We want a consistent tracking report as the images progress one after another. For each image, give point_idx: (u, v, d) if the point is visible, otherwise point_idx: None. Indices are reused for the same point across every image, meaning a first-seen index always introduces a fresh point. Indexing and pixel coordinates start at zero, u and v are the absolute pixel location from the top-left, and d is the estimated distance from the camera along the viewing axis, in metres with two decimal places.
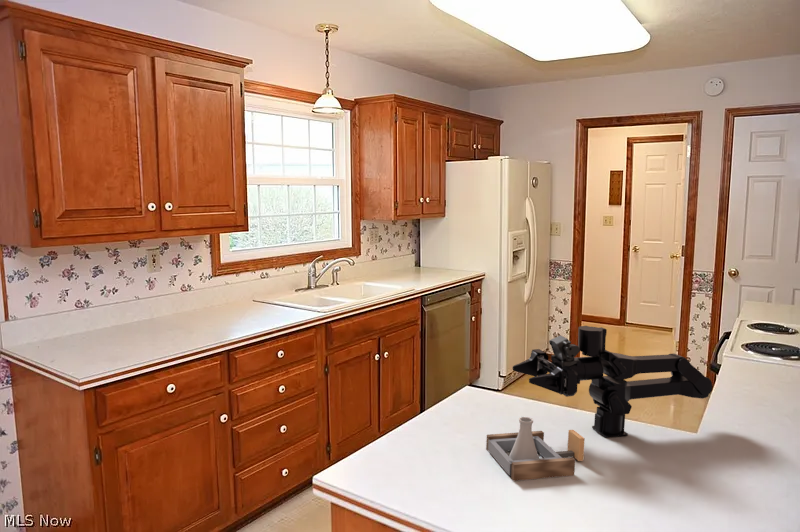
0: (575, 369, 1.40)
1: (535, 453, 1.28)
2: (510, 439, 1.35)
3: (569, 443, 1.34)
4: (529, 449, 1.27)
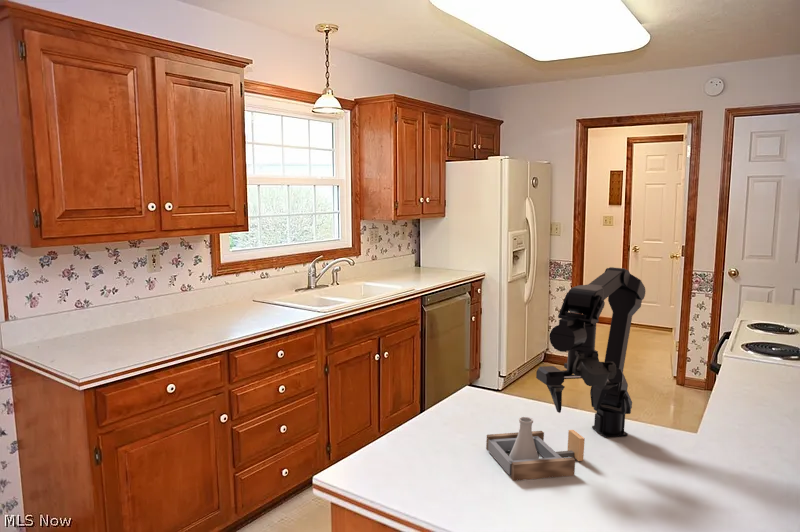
0: None
1: (535, 453, 1.28)
2: (510, 439, 1.35)
3: (569, 443, 1.34)
4: (529, 449, 1.27)
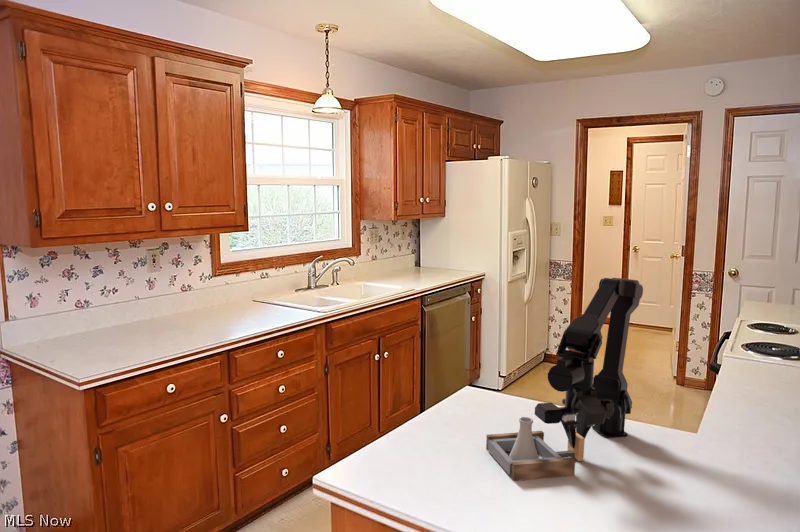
0: None
1: (535, 453, 1.28)
2: (510, 439, 1.35)
3: (569, 443, 1.34)
4: (529, 449, 1.27)
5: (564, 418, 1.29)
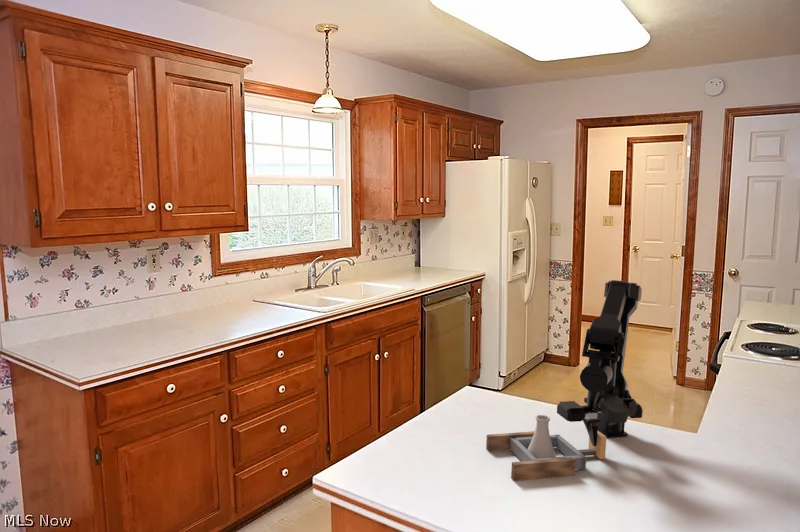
0: None
1: (552, 450, 1.29)
2: (532, 437, 1.36)
3: (590, 441, 1.35)
4: (547, 446, 1.28)
5: (586, 416, 1.30)
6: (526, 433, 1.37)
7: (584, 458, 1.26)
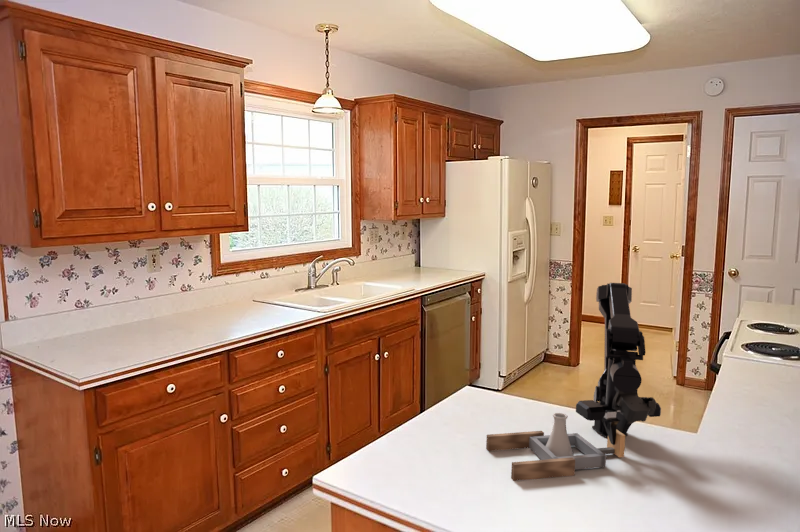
0: None
1: (570, 447, 1.32)
2: None
3: (609, 440, 1.36)
4: (566, 444, 1.30)
5: (605, 415, 1.31)
6: (526, 433, 1.37)
7: (604, 456, 1.27)
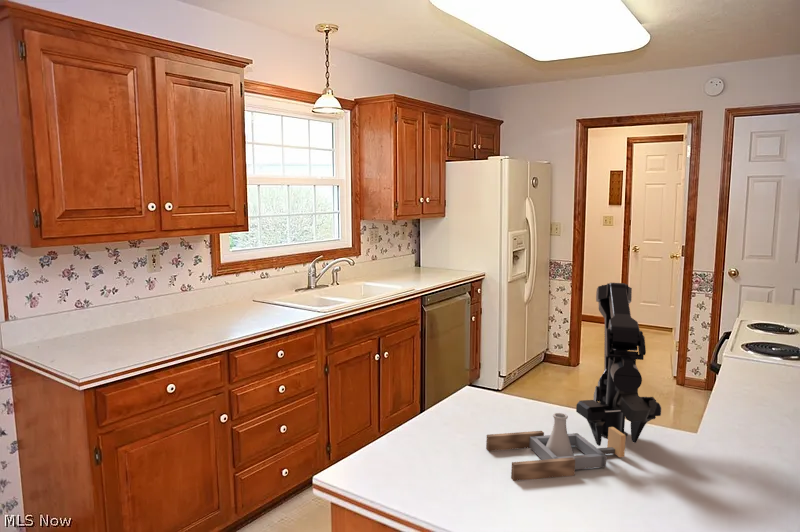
0: None
1: (570, 447, 1.32)
2: None
3: (609, 440, 1.36)
4: (567, 444, 1.30)
5: None
6: (526, 433, 1.37)
7: (604, 456, 1.27)
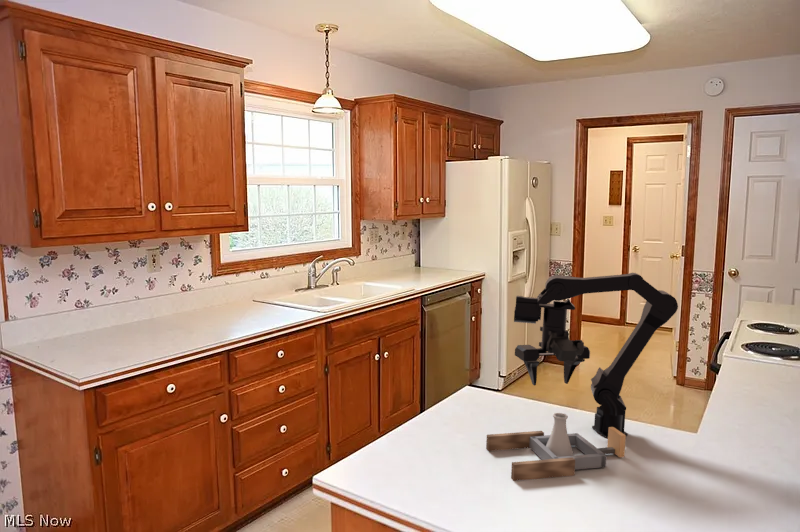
0: None
1: (570, 447, 1.32)
2: None
3: (609, 440, 1.36)
4: (567, 444, 1.30)
5: None
6: (526, 433, 1.37)
7: (604, 456, 1.27)
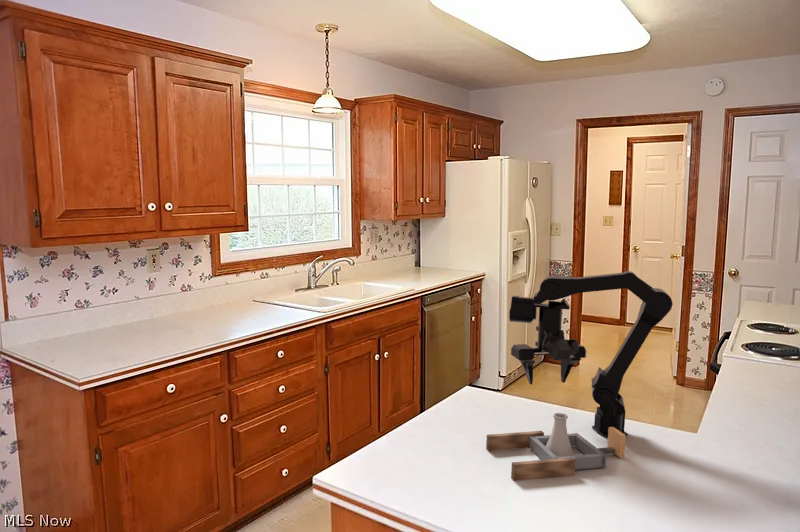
0: None
1: (570, 447, 1.32)
2: None
3: (609, 440, 1.36)
4: (567, 444, 1.30)
5: None
6: (526, 433, 1.37)
7: (604, 456, 1.27)
